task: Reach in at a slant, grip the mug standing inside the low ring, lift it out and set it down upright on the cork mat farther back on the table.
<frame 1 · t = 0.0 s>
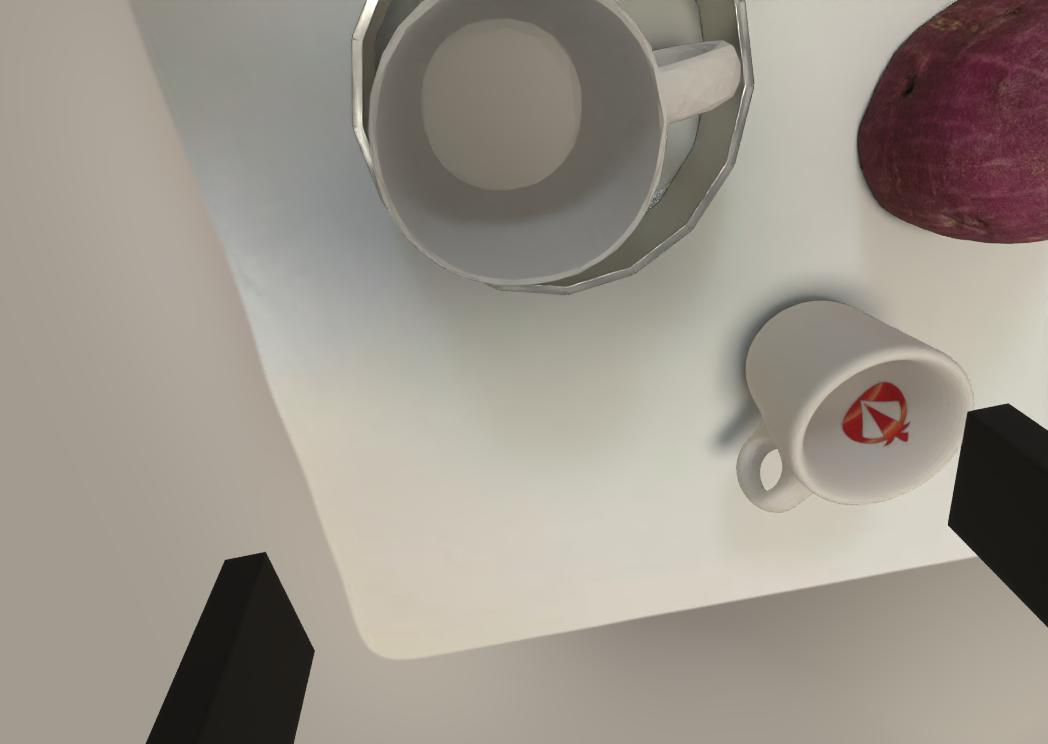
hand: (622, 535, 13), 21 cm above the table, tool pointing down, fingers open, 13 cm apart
mug: (542, 95, 28), resting in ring
vegetable: (964, 116, 30), on the table
cup: (779, 369, 36), on the table
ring: (543, 95, 28), on the table
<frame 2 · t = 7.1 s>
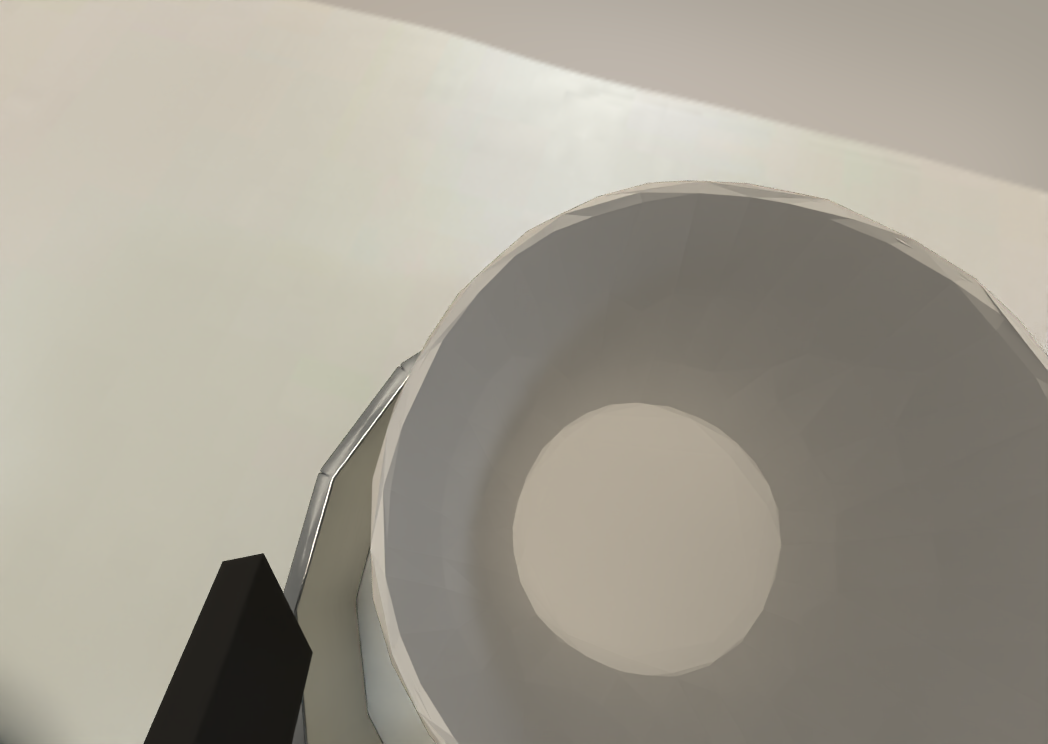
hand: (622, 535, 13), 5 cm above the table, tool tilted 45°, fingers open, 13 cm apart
mug: (625, 604, 17), resting in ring
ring: (626, 604, 17), on the table
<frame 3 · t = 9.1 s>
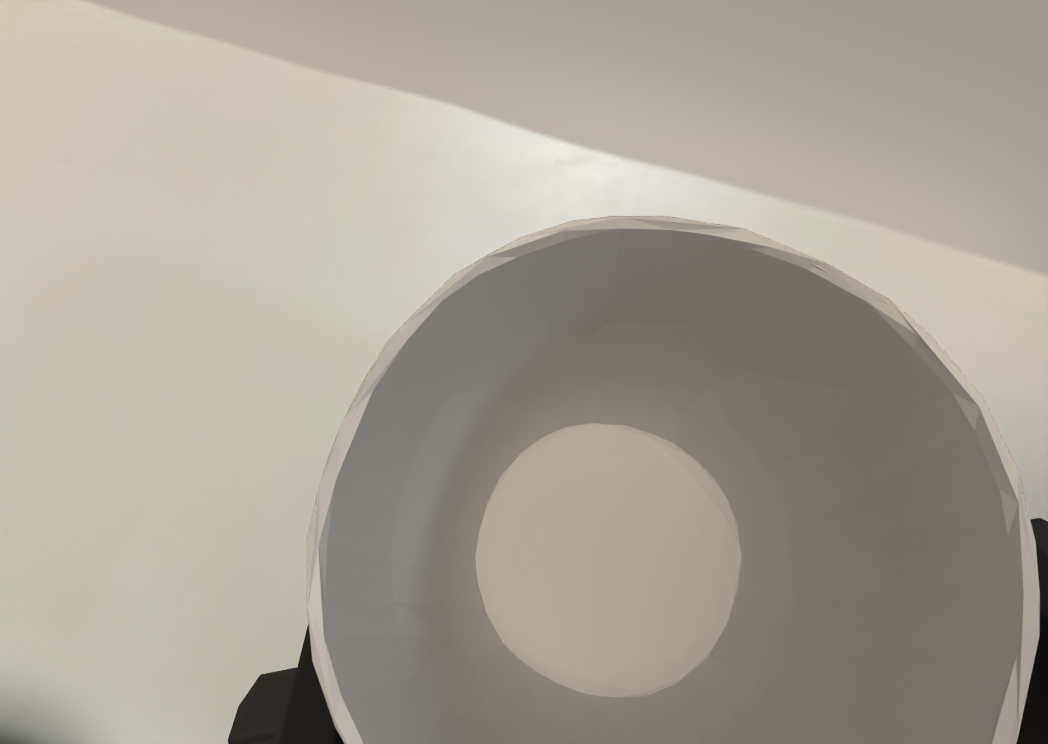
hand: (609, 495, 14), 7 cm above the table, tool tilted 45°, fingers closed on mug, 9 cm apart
mug: (593, 625, 17), point 2 cm above the table, touching gripper
when the fingers open (5 cm above the table, at t = 19.3 s): mug stays where it is, resting on mat.
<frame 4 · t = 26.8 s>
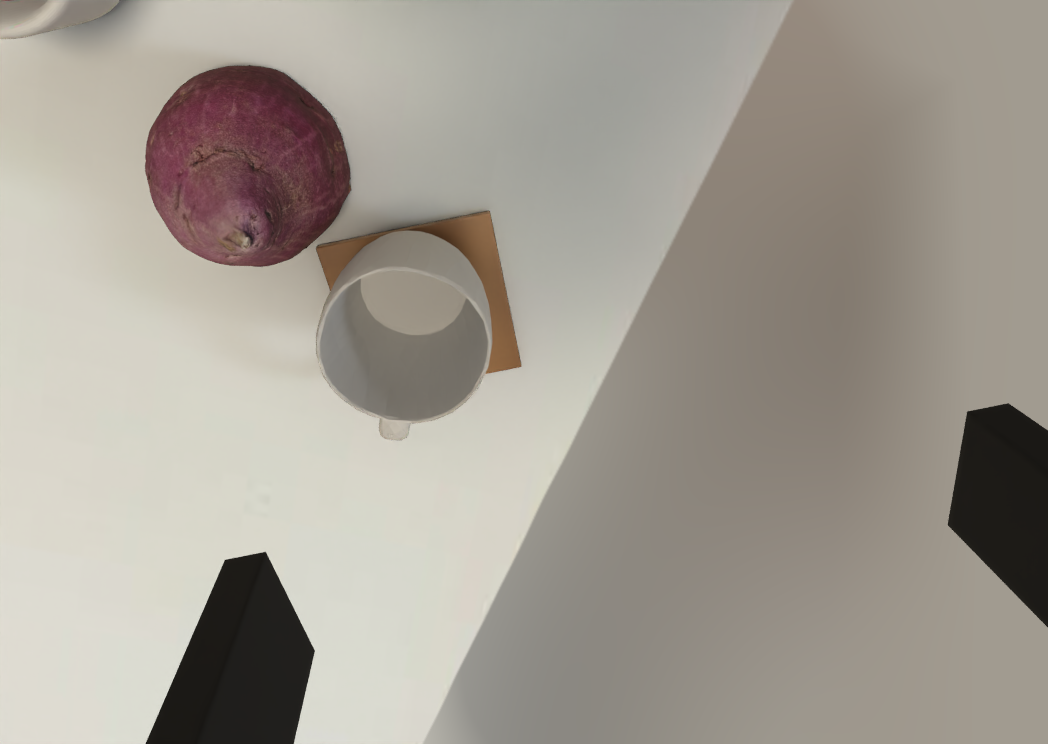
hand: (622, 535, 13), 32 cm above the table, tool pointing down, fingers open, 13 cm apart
mug: (412, 307, 43), resting on mat
vegetable: (262, 160, 39), on the table
mat: (425, 307, 44), on the table
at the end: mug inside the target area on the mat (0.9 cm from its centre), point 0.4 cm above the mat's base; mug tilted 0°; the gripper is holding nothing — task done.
